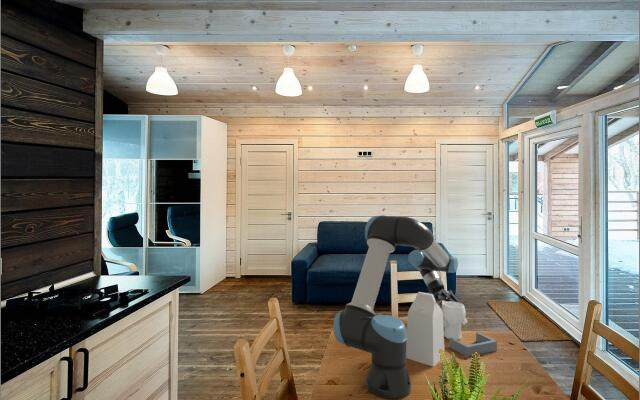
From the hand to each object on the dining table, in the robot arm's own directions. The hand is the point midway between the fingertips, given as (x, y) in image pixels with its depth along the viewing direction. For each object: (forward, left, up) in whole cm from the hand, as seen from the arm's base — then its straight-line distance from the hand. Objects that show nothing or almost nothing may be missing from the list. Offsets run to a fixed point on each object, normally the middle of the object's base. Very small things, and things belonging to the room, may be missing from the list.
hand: (455, 325), depth 166 cm
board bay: (-1, -12, -6) cm, 14 cm away
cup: (0, +2, -6) cm, 7 cm away
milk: (-25, -10, -6) cm, 28 cm away
